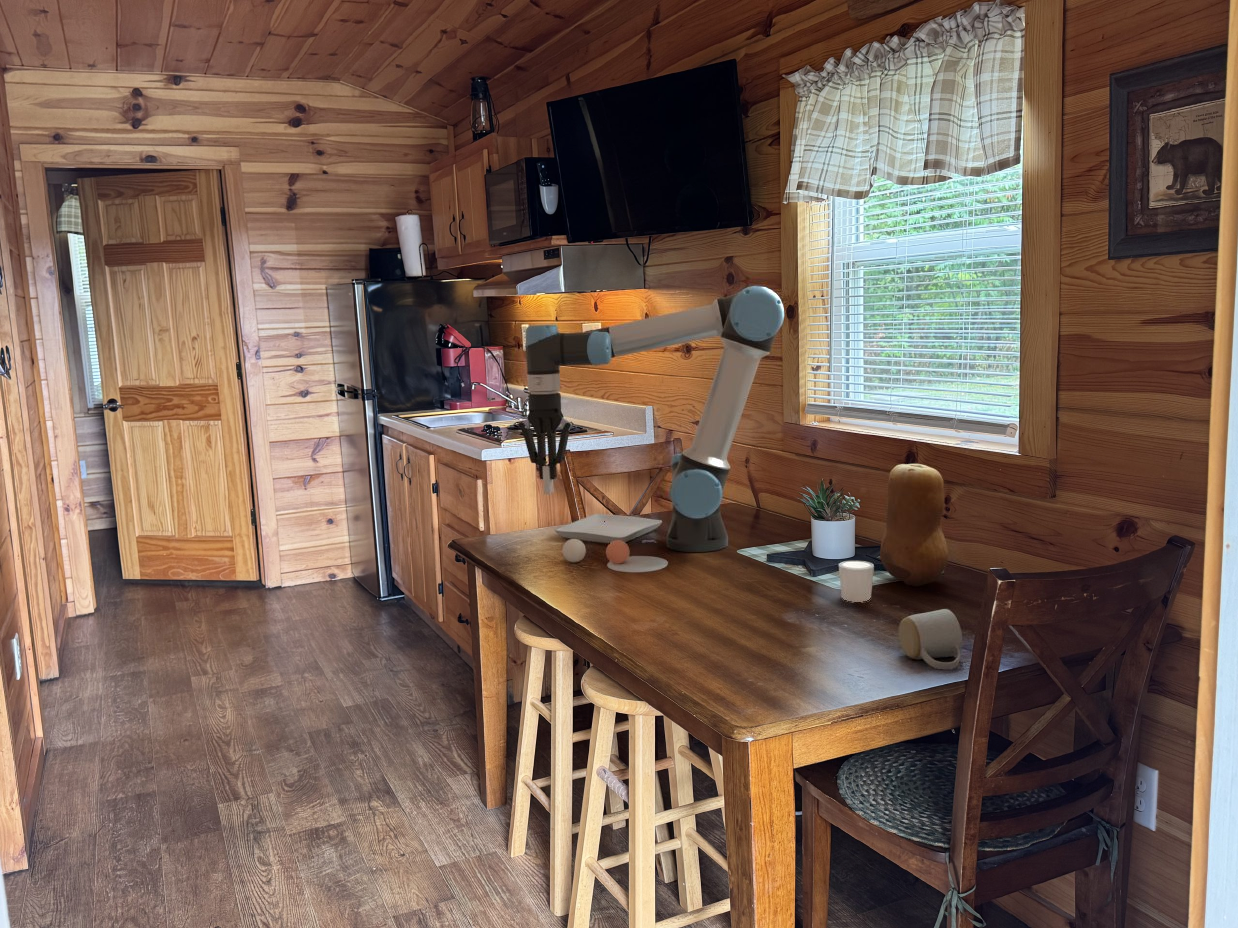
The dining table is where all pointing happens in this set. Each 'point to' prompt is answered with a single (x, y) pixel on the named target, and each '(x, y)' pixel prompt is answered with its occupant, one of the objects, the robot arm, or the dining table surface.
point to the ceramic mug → (932, 637)
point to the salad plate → (608, 528)
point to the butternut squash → (914, 525)
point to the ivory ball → (574, 550)
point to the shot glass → (856, 580)
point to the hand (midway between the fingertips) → (548, 492)
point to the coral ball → (617, 552)
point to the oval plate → (639, 564)
